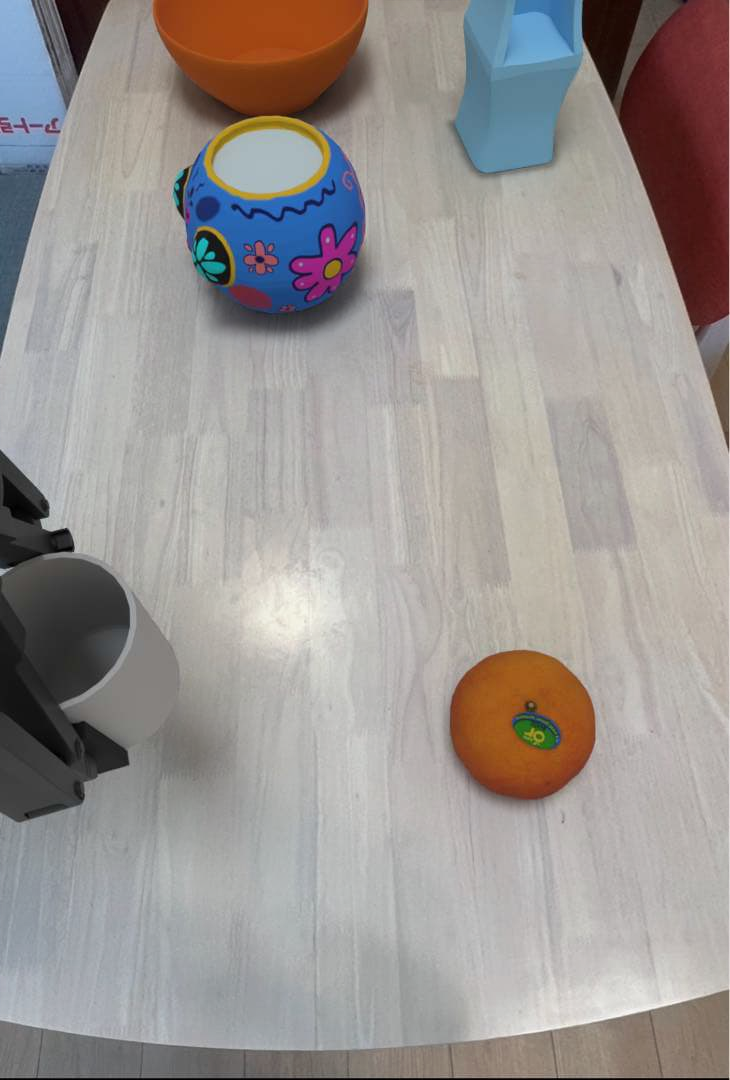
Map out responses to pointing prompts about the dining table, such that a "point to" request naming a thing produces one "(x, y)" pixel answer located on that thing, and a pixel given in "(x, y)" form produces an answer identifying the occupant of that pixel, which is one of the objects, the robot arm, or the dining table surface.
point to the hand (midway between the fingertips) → (91, 690)
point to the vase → (516, 79)
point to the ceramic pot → (272, 213)
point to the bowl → (262, 48)
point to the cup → (94, 644)
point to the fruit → (522, 724)
